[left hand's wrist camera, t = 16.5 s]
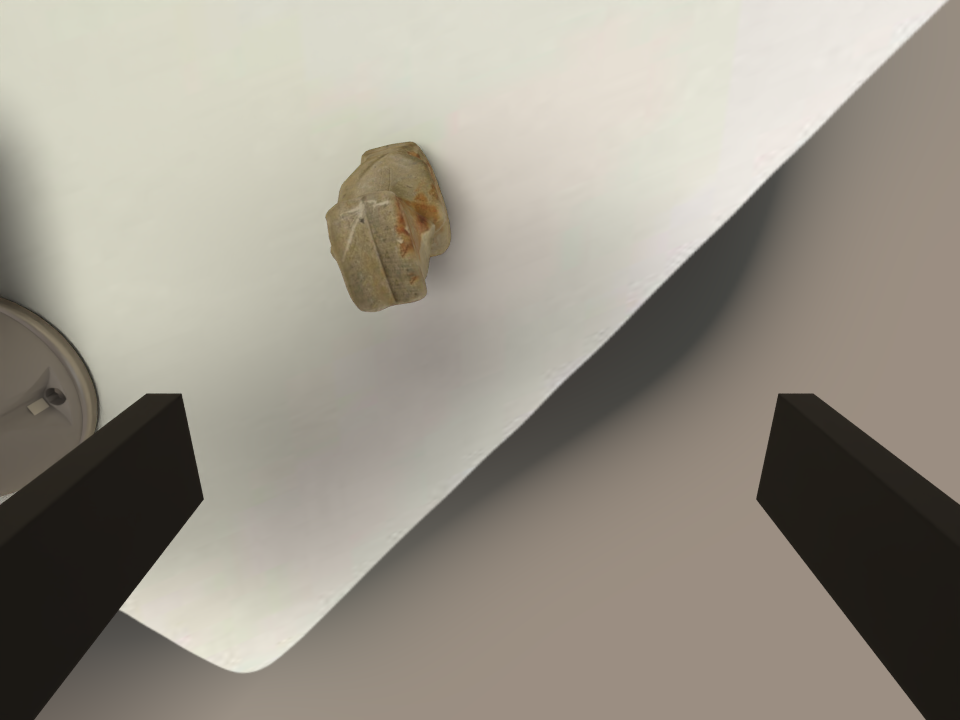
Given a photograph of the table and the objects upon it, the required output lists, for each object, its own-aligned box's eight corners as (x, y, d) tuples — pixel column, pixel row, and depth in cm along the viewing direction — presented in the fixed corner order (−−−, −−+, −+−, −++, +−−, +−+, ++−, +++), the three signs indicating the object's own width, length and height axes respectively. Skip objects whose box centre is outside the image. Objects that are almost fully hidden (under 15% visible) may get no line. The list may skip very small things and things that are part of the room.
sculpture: (379, 262, 39) (323, 330, 25) (353, 151, 36) (274, 159, 22) (463, 248, 38) (453, 309, 24) (443, 135, 36) (419, 133, 22)
